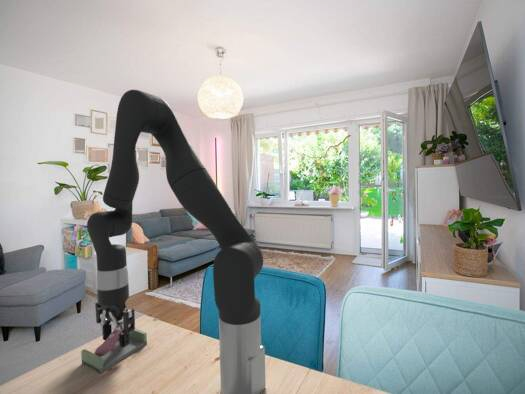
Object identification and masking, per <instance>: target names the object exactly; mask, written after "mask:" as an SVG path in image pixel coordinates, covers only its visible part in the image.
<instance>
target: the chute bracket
mask: <svg viewBox="0 0 525 394" xmlns="http://www.w3.org/2000/svg"><path fill="white" fill-rule="evenodd" d="M147 336H148V335H147V332H146V331H144V330H140V329H139V328H135V330H133V331H131V332H129V339H130V342H129V345H127V346H126V347H124V348H121V347H120V344H119V345H118V347H117V348H116V350H115V351H114V352H113V351H111V350H110V351H109V352H108V353H107V354H105V355H104V356H102V357H100V356H98V355H96V354H95V352H92V351H90V350H87V349H85V348H84V349H82V350H81V351H80V352H81V353H80V354H81V364H82V365H84V366H85V367H87V368H89V369H91V370H93V371H95V372H97V373H98V374H101V373H103V372H105V371H106V370H108V369H109V368H111V367H113V366H114V365H116V364H118V363H119V362H121V361H122V360H124V359H125V358H127V357H128V356H130V355H132V354H133V353H136V352H137V351H138V350H140V349H141V348H143V347H145V346H147V345H148V344H147V343H148V340H147V339H148V338H147Z"/></svg>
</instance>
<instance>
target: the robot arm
mask: <svg viewBox="0 0 525 394" xmlns="http://www.w3.org/2000/svg"><path fill="white" fill-rule="evenodd" d="M114 129H115V130H114V137H113V150H112V159H111V166H110V170H109V174H108V178H107V181H106V184H105V188H104V191H103V194H102V202H103V203H104V204H105V205H106V206H108V207H110V208H113V209H114V210H109V211H108V210H107V211H106V210H105V211H98V212H93V213H92V214H91V215H90V216H89V218H88V219H87V222H86V228H87V232H88V235H89V238H90V240H91V242H92V246H93V249H94V252H95V255H96V271H97V272H96V290H97V291H96V292H97V302H96V303H95V305H94V306H95V320H96V321H95V322H96V324H99V326H100V328H101V330H102V340H103V341H105V340H106V339H107V338H108V336H109V335H110V334H111V333H112V332H113V330H112V323H113V325H114V327H115V328H118V330H119V333H120V347H121V348H124V347H126V346H127V345H129V342H130V339H129V332H131V331H133V330H135V329H136V323H135V322H136V319H135V316H136V315H135V309H134V308H128V307H127V305H126V302H127V300H128V299H129V297H130V290H129V289H130V288H129V287H130V286H129V272H128V266H127V265H128V263H127V249H126V247H125V246H124V245H122V244H115V243H114V244H112V242H111V241H110V238H112V237H113V238H114V237H117V236H118V237H119V236H124V235H125V234H127V233H128V232H129V231H130V230H131V228H132V226H133V201H134V198H135V195H136V192H137V189H138V185H139V183H140V182H139V181H140V171H139V167H138V163H137V157H136V156H137V155H136V148H137V147H136V146H137V143H138V140H139V136H140V135H141V133H145V134H150V135H152V136H153V137H154V139H155V140H156V141H157V143H158V144H159V146H160V148H161V149H162V151H163V154H164V156H165V173H166V180H167V183H168V185H169V188H170V189H171V191H172V192H173V194H174V196H175V197H176V199H177V200H178V202H179V204H180V205H181V206H182V207H183V209H184V210H185V211H186V212H187V213H188V214H189V215H191V217H193V218H194V219H195V220H197V221H198V222H199V223H200V224H202V225H203V226H204V227H205V228H206V229H207V230H208V231H209V232H210V233H211V234H212V236H213V237H214V238H215V240H216V241H217V243H218V246H219V247H220V248H221V249H220V250H219V251H218V252H217V254H216V255H215V258H214V260H213V265H212V266H213V267H212V280H213V290H214V291H213V293H214V294H213V295H214V302H215V306H216V308H217V310H218V328H219V329H218V330H219V331H218V332H219V373H220V394H262V392H263V391H264V389H265V388H266V347H265V346H264V345H262V331H261V329H262V328H261V326H262V323H261V321H262V320H261V319H262V318H261V302H260V300H259V298H257V297H256V290H255V289H256V288H255V278H256V277H257V276H258V275H259V274H260V273H261V271H262V269H263V266H264V257H263V253H262V250H261V249H260V247H259V245H258V244H257V242H256V241H255V240H254V239H253V237H252V236H251V235H250V234H249V232H248V231H247V230H246V229H245V228H244V226H243V225H242V223H240V221H239V220H238V218H237V217H236V216H235V214H234V212H233V211H232V209H231V207H230V206H229V204H228V202H227V201H226V199H225V198H224V196H223V194H222V193H221V191H220V190H219V188H218V186H217V184H216V183H215V181H214V180H213V178H212V176H211V175H210V173H209V172H208V170H207V168H206V167H205V165H204V164H203V163H202V161H201V160H200V158H199V156H198V154H197V153H196V152H195V150H194V148H193V147H192V145H191V143H190V141H188V139H187V137H186V135H185V134H184V131H183V129H182V127H181V125H180V123H179V121H178V119H177V118H176V115H175V113H174V111H173V109H172V107H171V106H170V105H169V103H168V102H167V101H166V100H165V99H163V98H162V97H161V96H157V95H154V94H151V93H148V92H145V91H142V90H139V89H130V90H129V89H128V90H127V91H125V92H124V93H123V94H122V96H121V98H120V100H119V103H118V106H117V112H116V117H115V128H114ZM123 324H124V329H123V328H122V325H123ZM129 324H130V325H129Z"/></svg>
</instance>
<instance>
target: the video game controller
mask: <svg viewBox="0 0 525 394" xmlns="http://www.w3.org/2000/svg"><path fill="white" fill-rule="evenodd" d="M129 325H130V324H129ZM122 328H123V329H124V324H123V325H122ZM119 344H120V333H119V330H118V328H116V327H115V328H114V329H113V330H112V333H111V334H110V335H109V336H108V338H107V339H106V340H104V341H103V342H102V343H101V344H100V345H98V347H96V349H95V350H94V353H95V354H96V355H98V356H100V357H102V356H104V355H105V354H107V353H108V352H109V351H110V350H111V351H113V352H114V351H115V350H116V348H117V347H118V345H119Z"/></svg>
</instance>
